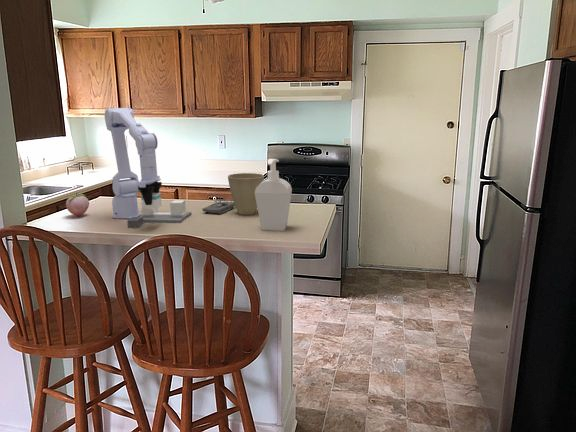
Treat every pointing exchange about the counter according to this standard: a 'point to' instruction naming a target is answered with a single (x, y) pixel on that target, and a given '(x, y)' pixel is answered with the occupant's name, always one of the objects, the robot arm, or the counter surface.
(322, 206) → the counter surface
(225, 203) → the graphics card
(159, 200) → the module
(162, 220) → the mounting plate
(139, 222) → the box
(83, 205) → the decorative fruit
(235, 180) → the plant pot
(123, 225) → the counter surface
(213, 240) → the counter surface
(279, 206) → the soap bottle
